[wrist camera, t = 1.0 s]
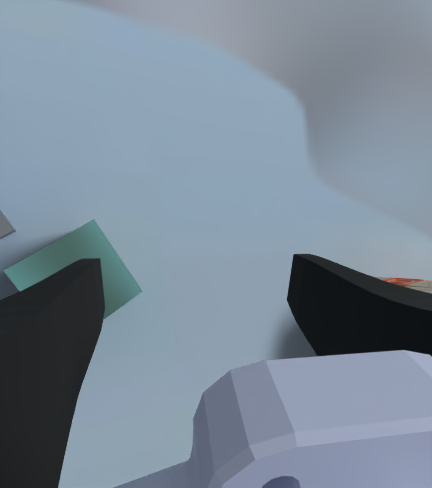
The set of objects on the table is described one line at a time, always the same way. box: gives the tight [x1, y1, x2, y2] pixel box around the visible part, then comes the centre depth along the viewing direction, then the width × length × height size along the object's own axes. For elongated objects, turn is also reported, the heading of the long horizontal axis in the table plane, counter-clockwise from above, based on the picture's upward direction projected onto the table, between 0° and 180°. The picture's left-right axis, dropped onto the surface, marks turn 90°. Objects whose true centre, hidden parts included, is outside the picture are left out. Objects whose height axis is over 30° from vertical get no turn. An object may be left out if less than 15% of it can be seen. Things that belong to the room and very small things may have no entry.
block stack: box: [4, 220, 142, 320], centre depth 18 cm, size 4×4×6 cm
